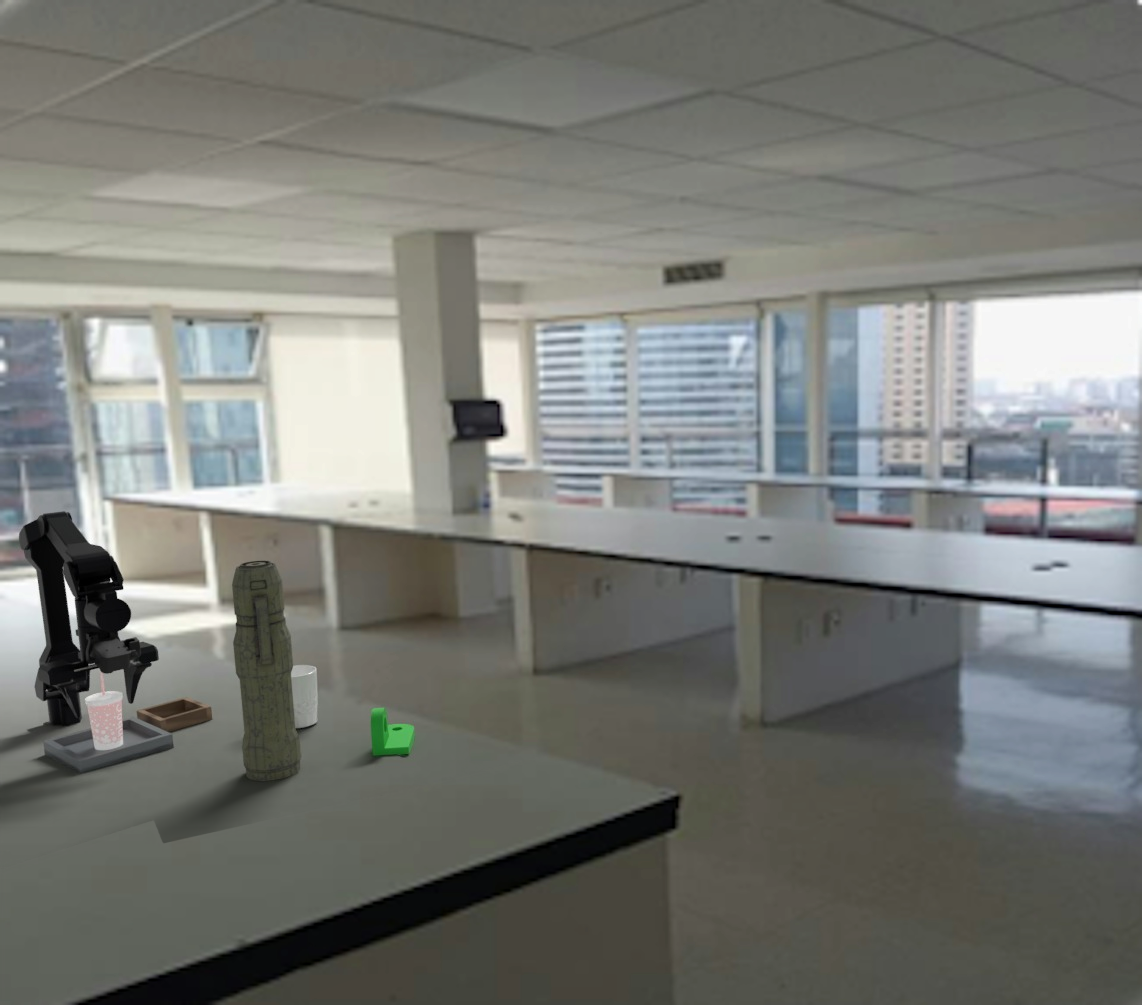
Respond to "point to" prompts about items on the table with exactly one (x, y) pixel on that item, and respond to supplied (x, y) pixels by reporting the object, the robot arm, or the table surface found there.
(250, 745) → the thermos
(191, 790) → the table surface
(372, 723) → the mechanical part
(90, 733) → the tray
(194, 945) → the table surface
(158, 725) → the square frame
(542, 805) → the table surface
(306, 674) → the white cup
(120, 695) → the beverage cup
